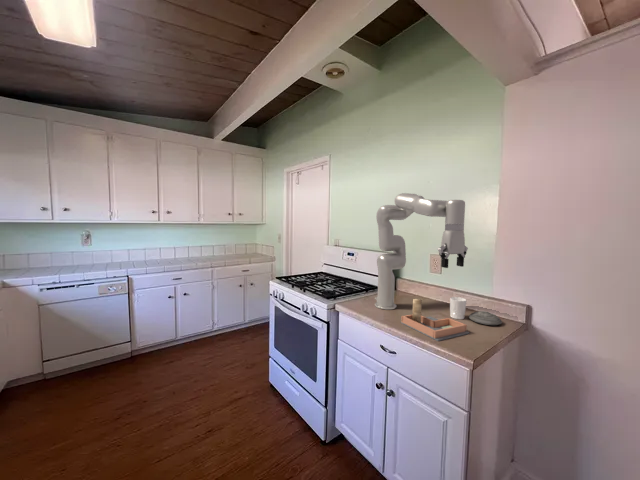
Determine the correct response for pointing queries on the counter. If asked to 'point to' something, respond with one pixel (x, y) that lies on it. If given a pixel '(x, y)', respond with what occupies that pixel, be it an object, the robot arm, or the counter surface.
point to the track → (436, 327)
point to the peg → (417, 310)
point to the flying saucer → (485, 318)
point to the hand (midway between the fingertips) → (452, 266)
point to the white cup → (457, 307)
